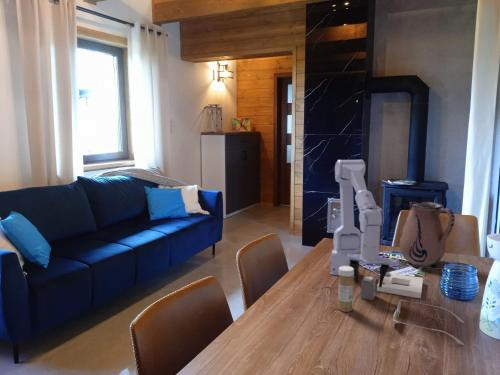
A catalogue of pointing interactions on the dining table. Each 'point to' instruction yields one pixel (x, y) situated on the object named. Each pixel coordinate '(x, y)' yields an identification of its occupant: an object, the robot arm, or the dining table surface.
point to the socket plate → (411, 290)
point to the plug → (368, 288)
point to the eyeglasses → (423, 327)
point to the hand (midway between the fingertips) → (368, 284)
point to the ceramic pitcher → (425, 234)
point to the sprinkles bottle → (345, 288)
